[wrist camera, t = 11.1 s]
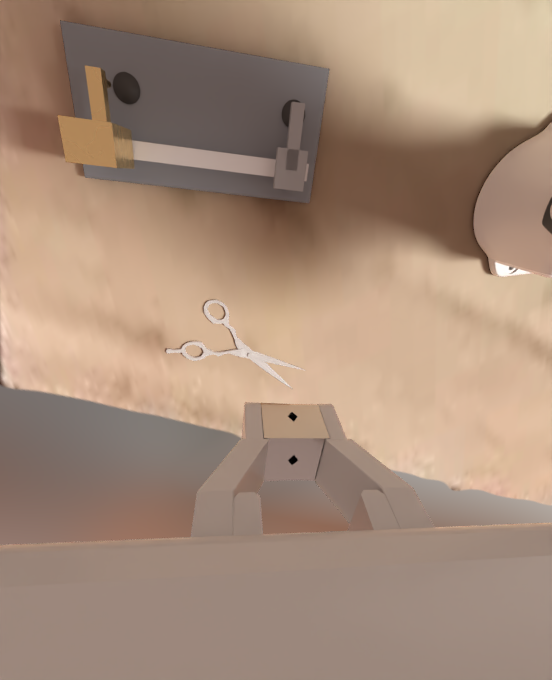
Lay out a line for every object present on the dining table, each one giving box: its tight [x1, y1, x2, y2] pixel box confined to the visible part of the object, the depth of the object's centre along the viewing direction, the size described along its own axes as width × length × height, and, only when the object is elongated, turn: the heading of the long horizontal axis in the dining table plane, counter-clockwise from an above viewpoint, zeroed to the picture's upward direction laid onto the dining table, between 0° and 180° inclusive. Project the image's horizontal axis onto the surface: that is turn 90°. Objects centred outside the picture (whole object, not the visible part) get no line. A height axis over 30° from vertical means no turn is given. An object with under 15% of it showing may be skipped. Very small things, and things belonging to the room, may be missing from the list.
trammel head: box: [57, 65, 135, 169], centre depth 27 cm, size 4×7×6 cm, turn 173°
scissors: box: [166, 300, 304, 388], centre depth 45 cm, size 11×1×20 cm
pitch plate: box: [60, 20, 329, 203], centre depth 30 cm, size 24×12×4 cm, turn 83°
